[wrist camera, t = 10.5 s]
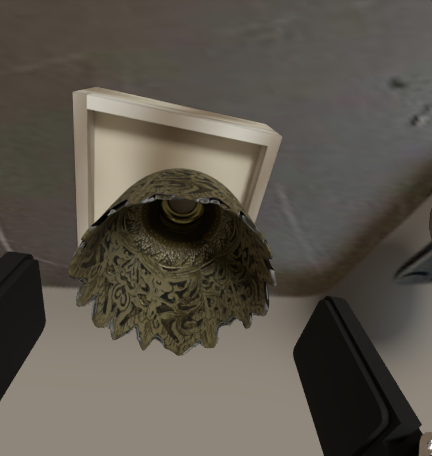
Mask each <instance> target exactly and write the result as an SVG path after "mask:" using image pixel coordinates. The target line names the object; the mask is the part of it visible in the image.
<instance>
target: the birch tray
mask: <svg viewBox="0 0 432 456" xmlns="http://www.w3.org/2000/svg"><path fill="white" fill-rule="evenodd" d="M73 113H74V143H75V173H76V203H77V232H78V247H79V246H80V244H81V242H82V240H81V238H82V237H83V235H84V233H85V232H86V231H87V230H88V228H89V227H90V226H91V225H92V224H93V223H95V222H96V221H97V220H98V219H99V218H100V217H101V216H102V215H103V214H104V213H105V211H106V210H107V209H108V208H109V207H110V206H111V205H112V204H113V203H114V202H115V201H116V200H117V199H118V198H119V197H120V196H121V195H122V194H123V193H124V192H125V191H126V190H127V189H128V188H129V187H131V186H132V185H133V184H135V183H136V182H137V181H139V180H140V179H142V178H144V177H146V176H148V175H150V174H152V173H155V172H158V171H161V170H166V169H173V168H185V169H192V170H196V171H200V172H202V173H205V174H207V175H209V176H211V177H213V178H215V179H216V180H218V181H219V182H221V183H222V184H223V185H224V186H226V187H227V188H228V189H229V190H230V191H231V192H232V193H233V195H234V196H235V197H236V198H237V199H238V201H239V202H240V203H241V205H242V206H243V208H244V209H245V210H246V212H247V213H248V215H249V216H250V218H251V219H252V221H253V222H254V224H255V221H256V218H257V214H258V211H259V208H260V205H261V202H262V199H263V196H264V193H265V189H266V186H267V183H268V180H269V177H270V174H271V171H272V168H273V165H274V161H275V158H276V155H277V152H278V149H279V146H280V143H281V140H282V136H281V135H279V134H278V133H277V132H275V131H274V130H273V129H271V128H270V127H269V126H267V125H266V124H263V123H258V122H254V121H249V120H244V119H240V118H235V117H231V116H226V115H222V114H217V113H213V112H208V111H204V110H199V109H195V108H190V107H186V106H181V105H176V104H172V103H167V102H163V101H158V100H154V99H149V98H145V97H140V96H136V95H131V94H127V93H122V92H117V91H113V90H108V89H104V88H99V87H94V88H89V89H84V90H80V91H75V92H73ZM169 204H170V206H171V208H172V209H173V210H174V211H176V212H178V213H188V212H190V211H191V210H192V209H193V208H194V207H195V204H196V202H194V201H189V200H169Z"/></svg>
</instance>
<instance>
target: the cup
mask: <svg viewBox="0 0 432 456" xmlns="http://www.w3.org/2000/svg"><path fill="white" fill-rule="evenodd" d="M169 200H189V201H194V202H196V204H195V207H194V208H193V209H192V210H191V211H190V212H188V213H178V212H176V211H174V210H173V209H172V208H171V206H170V204H169ZM81 240H82V242H81V244H80V246H79V247H78V249H77V250H76V252H75V254H74V256H73V258H72V261H71V263H70V267H69V272H68V273H69V276H70V277H71V278H73V279H77V280H79V281H80V282H81V286H80V289H79V290H78V293H77V296H76V300H77V306H79V307H80V306H86V305H87V304H89V303H90V302H91V301H93V300H94V301H93V305H92V320H93V323H94V325H95V326H96V327H98V328H99V327H102V328H104V327H108V328H109V329H110V331H111V337H112V339H113V340H116V339H118V338H120V337H122V336H124V335H125V334H126V333H128V334H129V333H130V332H131V331H132V330H133V328H135V329H136V334H137V339H138V341H139V344H140V347H141V349H142V350H145V349H146V348H147V347H148V345H149V344H150V343H151V342H152V340H154V339H156V340H158V341H160V342H161V343H162V345H163V347H164V348H166V349H168V350H170V351H172V352H174V353H175V354H176V355H179V356H180V355H184V354H186V353H187V352H188V351H189V350H191V349H192V348H193V347H196V346H197V345H198V344H201V345H202V346H204V347H205V348H214V347H215V346H216V344H217V342H218V331H219V328H220V326H224V325H228V326H229V325H231V324H232V323H233V321H234V319H239V320H240V321H242V322H243V325H244V327H245V328H246V329H247V328H249V327H250V326H251V323H252V313H254V314H253V315H257V316H260V315H261V316H265V315H266V314H267V311H268V309H269V293H268V284H270V285H271V286H276V277H275V273H274V269H273V268H272V266H271V264H270V262H269V260H268V259H272V258H273V255H272V252H271V250H270V248H269V246H268V244H267V241H266V240H265V237H264V235H263V234H262V233H261V232H260V231H259V230H258V228H257V227H256V225H255V224H254V222H253V221H252V219H251V218H250V216H249V215H248V213H247V212H246V210H245V209H244V208H243V206H242V205H241V203H240V202H239V201H238V199H237V198H236V197H235V196H234V195H233V193H232V192H231V191H230V190H229V189H228V188H227V187H226V186H224V185H223V184H222V183H221V182H219V181H218V180H216V179H215V178H213V177H211V176H209V175H207V174H205V173H202V172H200V171H196V170H192V169H185V168H173V169H166V170H161V171H158V172H155V173H152V174H150V175H148V176H146V177H144V178H142V179H140V180H139V181H137V182H136V183H135V184H133V185H132V186H131V187H129V188H128V189H127V190H126V191H125V192H124V193H123V194H122V195H121V196H120V197H119V198H118V199H117V200H116V201H115V202H114V203H113V204H112V205H111V206H110V207H109V208H108V209H107V210H106V211H105V213H104V214H103V215H102V216H101V217H100V218H99V219H98V220H97V221H96V222H95V223H93V224H92V225H91V226H90V227H89V228H88V230H87V231H86V232H85V233H84V235H83V237H82V238H81ZM93 297H94V298H93Z"/></svg>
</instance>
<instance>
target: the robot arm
mask: <svg viewBox="0 0 432 456" xmlns="http://www.w3.org/2000/svg"><path fill="white" fill-rule="evenodd" d="M429 229H430V235H431V238H432V209H431V213H430V222H429ZM45 322H46V319H45V311H44V302H43V294H42V286H41V278H40V270H39V263H38V261H37V260H34V259H33V256H32V255H30V254H25V253H18V252H11V251H10V252H7V253H6V254H5V255H3V256H2V257H1V258H0V400H1V399H2V397H3V395H4V394H5V392H6V390H7V389H8V387H9V386H10V384H11V382H12V381H13V379H14V377H15V376H16V374H17V373H18V371H19V369H20V368H21V366H22V364H23V363H24V361H25V359H26V358H27V356H28V355H29V353H30V351H31V350H32V348H33V346H34V345H35V343H36V341H37V340H38V338H39V336H40V335H41V333H42V331H43V329H44V327H45ZM293 357H294V360H295V364H296V367H297V370H298V373H299V377H300V380H301V383H302V386H303V389H304V393H305V396H306V399H307V402H308V405H309V409H310V412H311V415H312V418H313V422H314V425H315V428H316V431H317V435H318V438H319V441H320V444H321V447H322V451H323V454H324V456H432V432H426V433H425V434H422V433H421V431H420V429H419V427H420V426H421V425H422V424H421V423H420V421H419V419H418V418H417V416H416V414H415V413H414V411H413V410H412V408H411V406H410V405H409V403H408V401H407V400H406V398H405V396H404V395H403V393H402V391H401V390H400V388H399V387H398V385H397V383H396V382H395V380H394V378H393V377H392V375H391V374H390V372H389V370H388V369H387V367H386V366H385V364H384V362H383V360H382V359H381V357H380V355H379V354H378V352H377V351H376V349H375V347H374V346H373V344H372V343H371V341H370V339H369V337H368V336H367V334H366V333H365V331H364V329H363V328H362V326H361V324H360V323H359V321H358V320H357V318H356V316H355V315H354V313H353V311H352V310H351V308H350V306H349V305H348V303H347V302H346V300H345V299H343V298H337V297H331V296H326V297H325V298H324V299H323V300H320V301H319V302H318V304H317V306H316V308H315V310H314V312H313V314H312V315H311V317H310V319H309V321H308V323H307V325H306V327H305V329H304V330H303V333H302V334H301V336H300V338H299V339H298V341H297V343H296V345H295V347H294V351H293Z"/></svg>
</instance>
